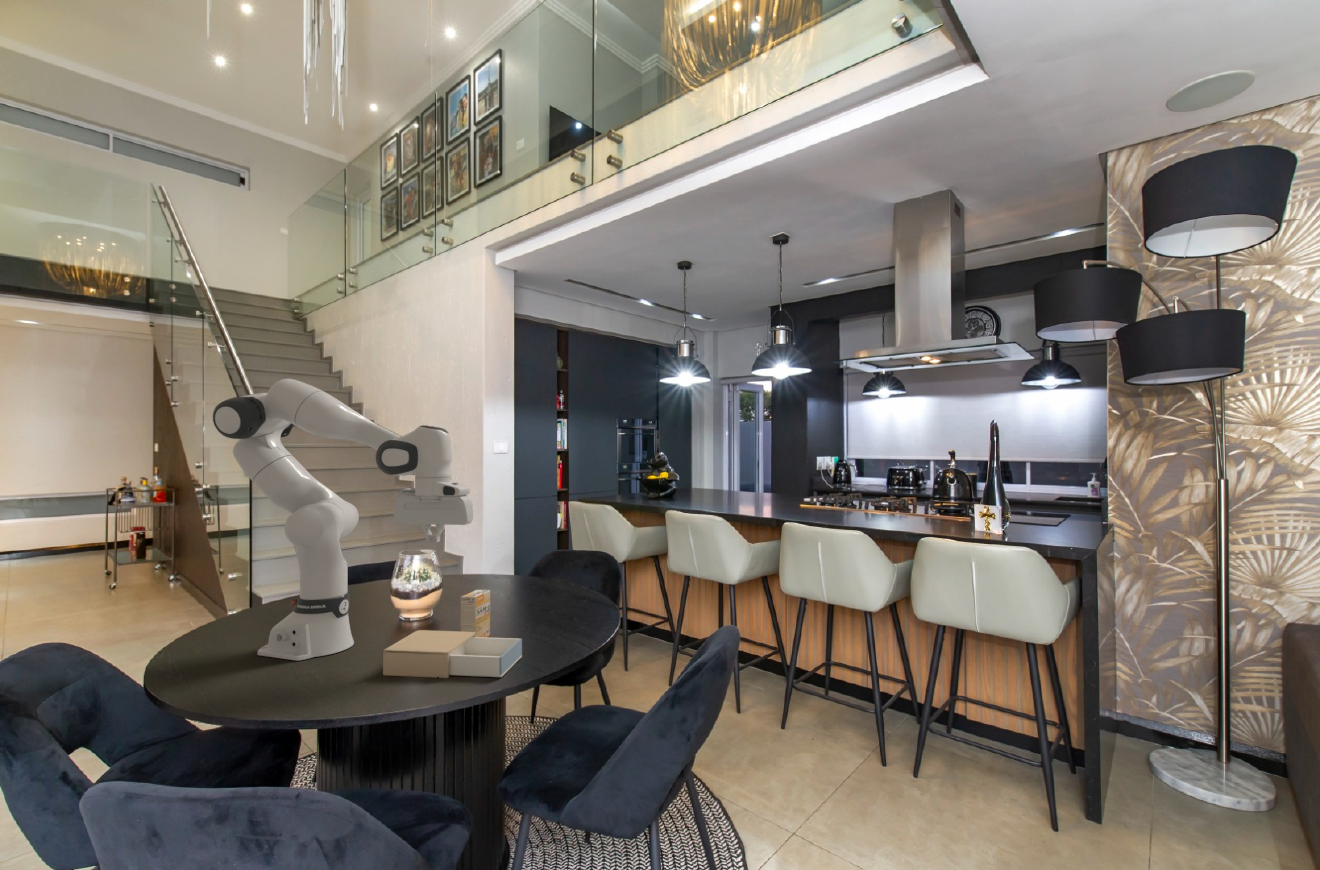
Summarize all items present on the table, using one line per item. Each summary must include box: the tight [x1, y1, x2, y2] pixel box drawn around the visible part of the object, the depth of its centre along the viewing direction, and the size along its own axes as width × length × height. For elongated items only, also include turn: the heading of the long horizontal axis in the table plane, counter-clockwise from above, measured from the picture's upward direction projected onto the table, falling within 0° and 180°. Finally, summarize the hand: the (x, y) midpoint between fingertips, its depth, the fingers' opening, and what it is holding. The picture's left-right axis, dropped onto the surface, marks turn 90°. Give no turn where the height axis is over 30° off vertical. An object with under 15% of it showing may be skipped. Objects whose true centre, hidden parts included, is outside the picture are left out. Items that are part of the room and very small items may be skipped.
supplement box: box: [460, 589, 491, 638], centre depth 158 cm, size 8×5×13 cm, turn 168°
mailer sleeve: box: [382, 629, 476, 679], centre depth 140 cm, size 16×15×6 cm
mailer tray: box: [449, 637, 523, 678], centre depth 139 cm, size 15×13×4 cm
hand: (433, 541), depth 147 cm, fingers closed
